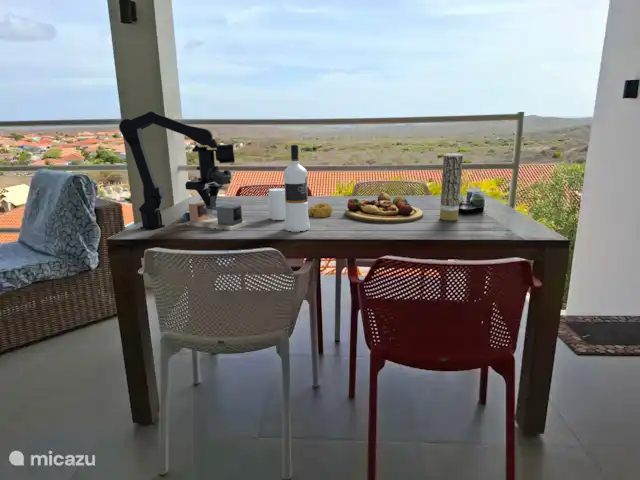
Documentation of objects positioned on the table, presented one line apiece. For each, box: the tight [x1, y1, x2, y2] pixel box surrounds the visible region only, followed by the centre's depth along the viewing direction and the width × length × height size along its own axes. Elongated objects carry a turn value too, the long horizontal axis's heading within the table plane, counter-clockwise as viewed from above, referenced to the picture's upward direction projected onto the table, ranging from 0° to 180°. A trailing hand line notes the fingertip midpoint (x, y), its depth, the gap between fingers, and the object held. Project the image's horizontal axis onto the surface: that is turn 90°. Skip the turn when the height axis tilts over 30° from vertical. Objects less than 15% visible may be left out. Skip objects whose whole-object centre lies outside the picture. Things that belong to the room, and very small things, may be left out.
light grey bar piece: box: [182, 197, 203, 222], centre depth 175 cm, size 5×7×25 cm
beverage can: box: [267, 187, 286, 221], centre depth 163 cm, size 8×8×12 cm
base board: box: [186, 216, 248, 231], centre depth 157 cm, size 21×10×1 cm, turn 64°
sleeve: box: [216, 203, 243, 226], centre depth 153 cm, size 7×6×7 cm
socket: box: [188, 200, 209, 222], centre depth 159 cm, size 4×6×7 cm, turn 154°
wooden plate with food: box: [344, 191, 424, 225], centre depth 169 cm, size 32×32×8 cm
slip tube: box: [198, 195, 235, 218], centre depth 155 cm, size 15×4×8 cm, turn 64°
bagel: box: [308, 202, 334, 218], centre depth 170 cm, size 10×11×5 cm
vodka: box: [283, 144, 311, 233], centre depth 144 cm, size 9×9×30 cm
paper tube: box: [439, 153, 464, 222], centre depth 156 cm, size 7×7×25 cm
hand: (210, 205), depth 156 cm, fingers closed on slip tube, 3 cm apart
